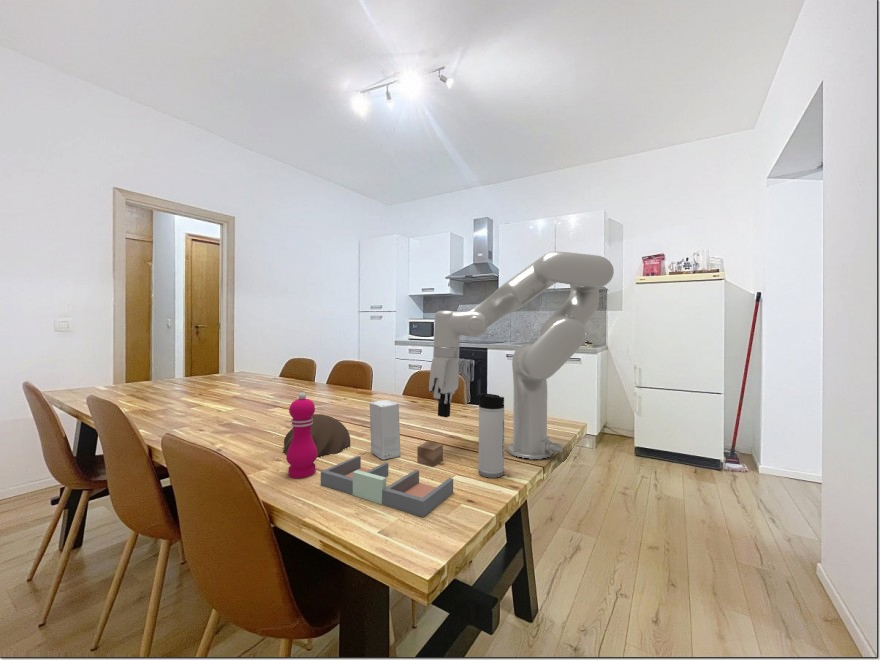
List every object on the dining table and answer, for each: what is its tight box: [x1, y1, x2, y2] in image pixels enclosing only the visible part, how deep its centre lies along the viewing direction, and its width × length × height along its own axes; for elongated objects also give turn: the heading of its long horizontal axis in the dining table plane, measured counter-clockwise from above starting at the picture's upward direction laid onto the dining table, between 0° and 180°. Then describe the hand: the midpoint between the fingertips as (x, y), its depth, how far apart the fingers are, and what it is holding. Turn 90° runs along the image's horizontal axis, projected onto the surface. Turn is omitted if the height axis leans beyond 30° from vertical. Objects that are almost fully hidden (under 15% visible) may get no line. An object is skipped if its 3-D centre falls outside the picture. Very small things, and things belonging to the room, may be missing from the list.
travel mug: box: [477, 392, 505, 479], centre depth 91 cm, size 6×7×20 cm
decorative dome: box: [282, 413, 351, 458], centre depth 110 cm, size 19×20×10 cm
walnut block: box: [416, 440, 444, 467], centre depth 99 cm, size 5×5×4 cm
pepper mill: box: [285, 392, 318, 479], centre depth 90 cm, size 7×7×20 cm
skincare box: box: [369, 399, 401, 461], centre depth 104 cm, size 8×6×15 cm
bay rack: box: [320, 455, 454, 518], centre depth 82 cm, size 28×12×5 cm, turn 60°
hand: (443, 416), depth 106 cm, fingers closed
